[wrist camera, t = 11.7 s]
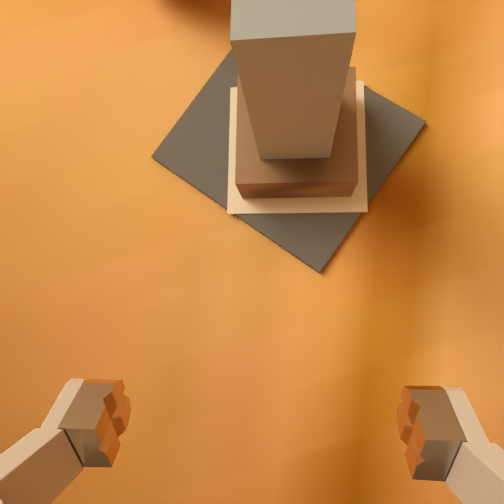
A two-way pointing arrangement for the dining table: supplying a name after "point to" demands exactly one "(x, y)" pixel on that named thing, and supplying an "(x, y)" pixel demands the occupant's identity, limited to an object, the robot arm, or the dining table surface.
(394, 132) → the mat
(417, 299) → the dining table surface
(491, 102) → the dining table surface
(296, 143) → the column
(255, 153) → the base block
